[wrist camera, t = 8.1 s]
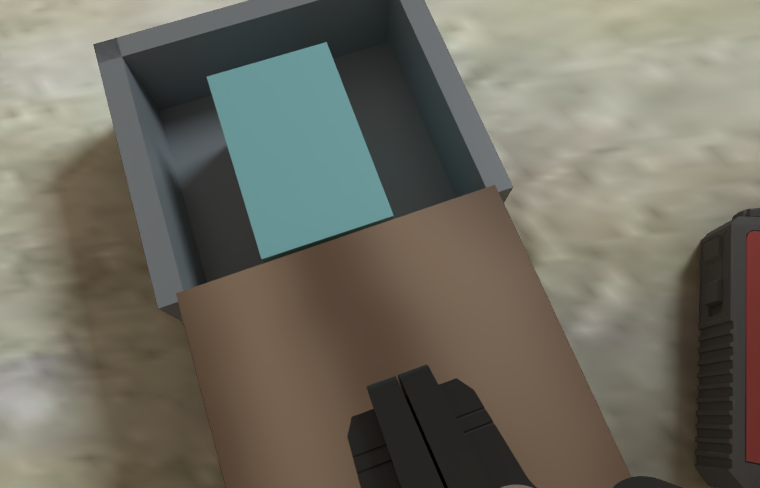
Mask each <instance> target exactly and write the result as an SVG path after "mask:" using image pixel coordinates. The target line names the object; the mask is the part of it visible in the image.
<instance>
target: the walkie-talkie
mask: <svg viewBox="0 0 760 488" xmlns="http://www.w3.org/2000/svg"><path fill="white" fill-rule="evenodd" d="M699 330H701V337H698V341H699V342H701V343H700V349H698V353H699V354H700V361H698V365H699V366H700V373H698V374H697V377H698V378H699V386H697V390H698V391H699V398H697V403H699V411H696V415H697V416H698V424H696V428H697V429H698V437H696V438H695V441H696V442H698V450H696V451H695V455H697V464H695V467H696V468H697V470H698V471H699V472H700V474H701V475H702V476H703V478H704V479H705V481H706V482H707V483H708V485H709V486H713V487H717V488H760V208H755V209H747V210H743V211H741V212H739V213H737V214H736V215H735V216H733V218H732V220H731V221H729V222H728V223H726V224H724V225H722V226H720V227H719V228H717V229H715V230H713V231H711V232H710V233H708V234H707V235H706V236H705V237H704V238H703V239H702V240H701V265H700V300H699Z"/></svg>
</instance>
